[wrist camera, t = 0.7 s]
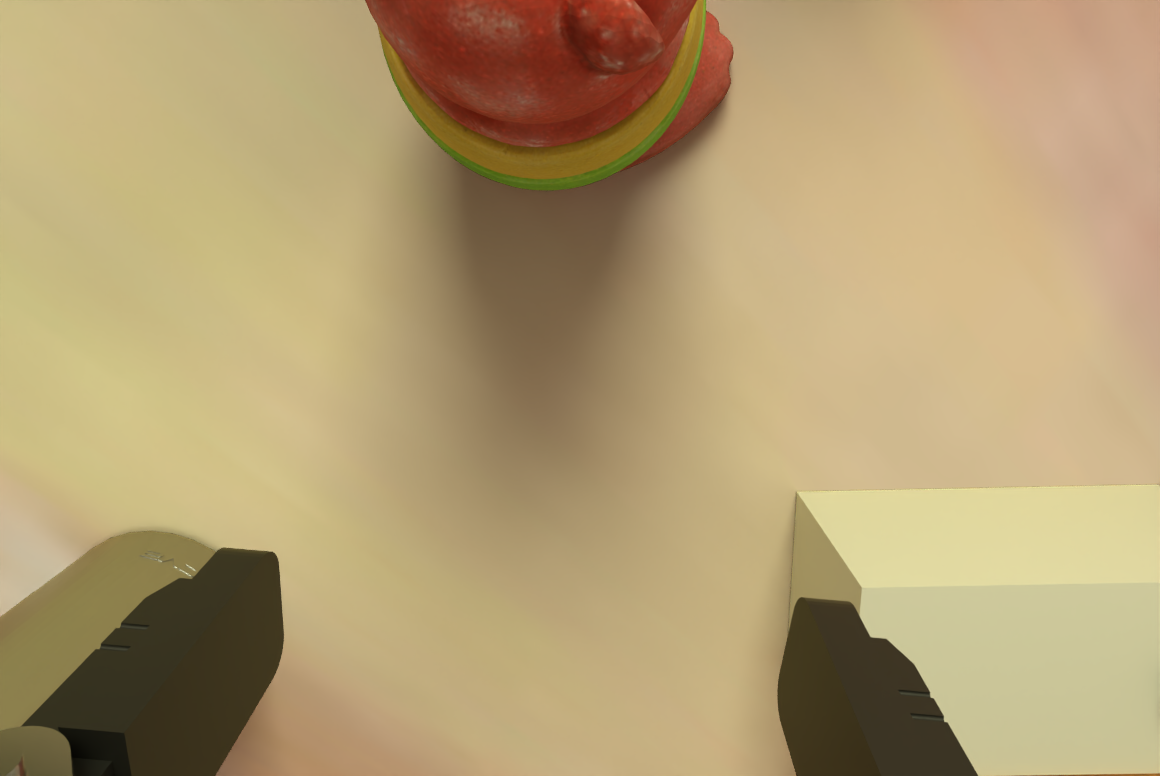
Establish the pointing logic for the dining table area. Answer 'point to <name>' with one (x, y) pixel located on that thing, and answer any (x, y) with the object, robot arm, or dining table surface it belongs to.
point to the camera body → (1007, 612)
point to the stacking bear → (554, 81)
